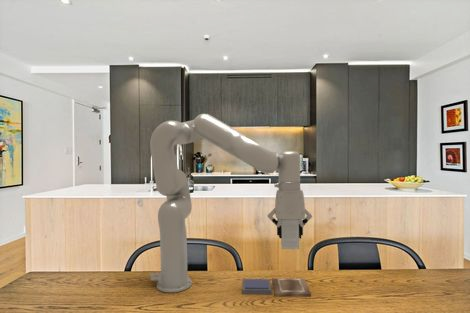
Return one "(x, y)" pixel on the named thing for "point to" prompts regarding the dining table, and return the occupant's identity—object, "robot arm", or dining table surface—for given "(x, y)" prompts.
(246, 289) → the ink pad
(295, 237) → the skincare box
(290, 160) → the robot arm
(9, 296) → the dining table surface
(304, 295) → the marked board
